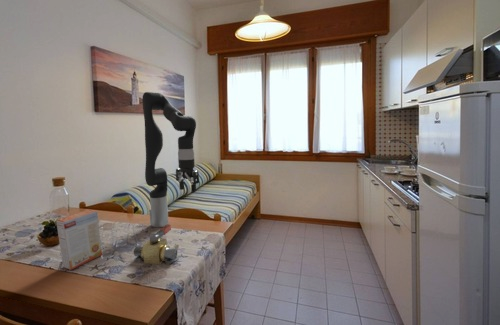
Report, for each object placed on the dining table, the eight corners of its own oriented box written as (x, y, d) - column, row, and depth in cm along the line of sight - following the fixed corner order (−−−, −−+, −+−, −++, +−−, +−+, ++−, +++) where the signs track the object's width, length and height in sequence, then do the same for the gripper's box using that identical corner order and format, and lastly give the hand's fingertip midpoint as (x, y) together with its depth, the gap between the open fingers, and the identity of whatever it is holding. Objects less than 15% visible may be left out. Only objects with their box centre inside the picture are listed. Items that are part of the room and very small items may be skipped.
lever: (156, 243, 111) (156, 237, 111) (148, 242, 112) (147, 237, 111) (172, 229, 125) (172, 224, 125) (164, 229, 126) (164, 224, 125)
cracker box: (94, 252, 122) (89, 209, 119) (102, 255, 119) (98, 210, 116) (61, 267, 109) (55, 219, 106) (70, 270, 107) (64, 221, 104)
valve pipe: (132, 262, 113) (130, 243, 112) (142, 254, 120) (140, 236, 118) (171, 265, 110) (170, 246, 108) (179, 256, 116) (178, 239, 115)
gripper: (170, 157, 128) (172, 190, 131) (190, 160, 120) (191, 194, 122) (182, 156, 134) (184, 187, 137) (202, 158, 126) (203, 191, 128)
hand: (187, 190), depth 130 cm, fingers open, 8 cm apart
